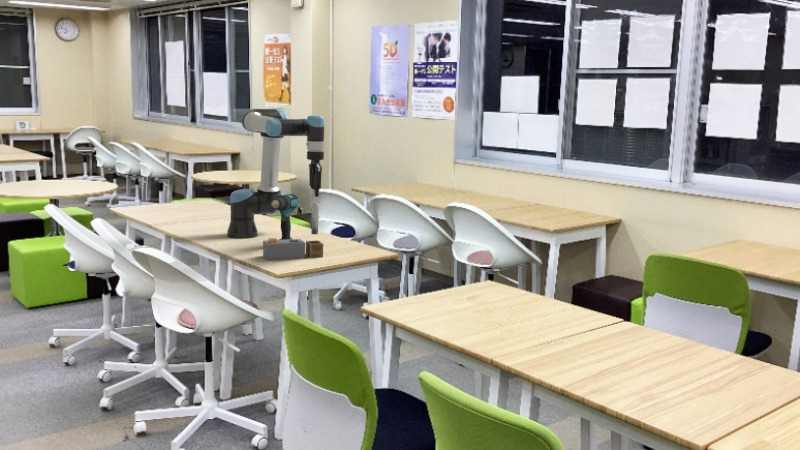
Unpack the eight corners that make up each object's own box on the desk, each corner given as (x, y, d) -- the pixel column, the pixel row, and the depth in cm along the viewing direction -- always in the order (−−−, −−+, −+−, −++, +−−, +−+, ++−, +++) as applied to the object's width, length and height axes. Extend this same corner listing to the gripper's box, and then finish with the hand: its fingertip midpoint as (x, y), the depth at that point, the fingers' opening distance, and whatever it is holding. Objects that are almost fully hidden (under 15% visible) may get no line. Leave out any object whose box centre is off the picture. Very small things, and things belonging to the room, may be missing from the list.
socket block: (263, 255, 323) (263, 240, 322) (300, 253, 329) (300, 238, 328) (267, 260, 315) (267, 244, 314) (305, 258, 321) (305, 242, 320)
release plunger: (268, 255, 321) (268, 238, 319) (275, 255, 322) (275, 237, 321) (270, 257, 318) (270, 239, 317) (276, 256, 319) (276, 239, 318)
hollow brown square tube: (305, 253, 330) (305, 240, 329) (318, 253, 332) (318, 240, 331) (310, 257, 322) (310, 244, 321) (323, 256, 325) (323, 243, 324)
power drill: (282, 253, 330) (282, 199, 325) (263, 251, 332) (263, 197, 327) (301, 242, 355) (301, 191, 351) (284, 240, 357) (284, 190, 352)
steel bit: (310, 233, 326) (310, 193, 323) (317, 233, 327) (317, 193, 324) (312, 234, 323) (312, 194, 320) (318, 234, 324) (319, 194, 321)
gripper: (302, 149, 325) (302, 200, 329) (311, 152, 310) (311, 206, 314) (318, 149, 327) (318, 200, 332) (328, 152, 313) (328, 205, 317)
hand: (315, 203), depth 323 cm, fingers closed on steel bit, 3 cm apart
